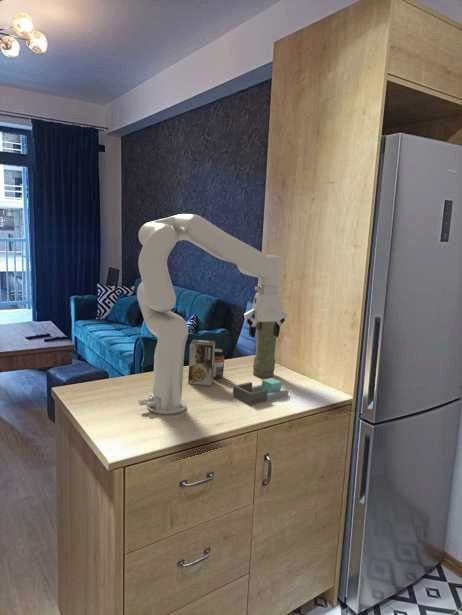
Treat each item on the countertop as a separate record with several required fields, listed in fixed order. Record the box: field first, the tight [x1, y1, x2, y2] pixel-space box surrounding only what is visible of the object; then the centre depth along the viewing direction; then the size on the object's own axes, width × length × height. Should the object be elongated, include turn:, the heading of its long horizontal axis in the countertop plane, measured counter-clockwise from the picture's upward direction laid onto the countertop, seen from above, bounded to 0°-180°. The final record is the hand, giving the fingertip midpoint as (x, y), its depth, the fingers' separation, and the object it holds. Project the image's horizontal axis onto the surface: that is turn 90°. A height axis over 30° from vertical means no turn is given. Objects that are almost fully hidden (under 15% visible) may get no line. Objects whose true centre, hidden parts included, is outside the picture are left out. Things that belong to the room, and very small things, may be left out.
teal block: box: [261, 377, 282, 394], centre depth 169 cm, size 5×5×5 cm
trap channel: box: [232, 381, 289, 406], centre depth 166 cm, size 19×9×4 cm, turn 130°
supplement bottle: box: [213, 348, 225, 380], centre depth 181 cm, size 6×6×11 cm
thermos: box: [252, 306, 282, 379], centre depth 187 cm, size 9×12×35 cm
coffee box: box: [187, 339, 216, 387], centre depth 174 cm, size 9×6×16 cm
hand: (264, 336), depth 165 cm, fingers open, 9 cm apart
